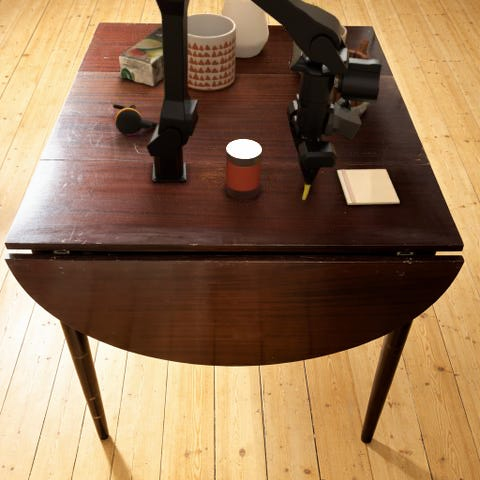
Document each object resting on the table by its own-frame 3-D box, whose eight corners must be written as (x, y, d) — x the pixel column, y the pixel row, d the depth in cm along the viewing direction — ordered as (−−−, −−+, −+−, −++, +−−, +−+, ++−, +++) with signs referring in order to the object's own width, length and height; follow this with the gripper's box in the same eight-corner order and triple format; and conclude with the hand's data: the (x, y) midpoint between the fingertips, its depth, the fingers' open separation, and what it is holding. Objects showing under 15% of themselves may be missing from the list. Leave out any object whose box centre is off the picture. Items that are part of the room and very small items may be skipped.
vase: (171, 87, 145) (167, 32, 135) (188, 62, 154) (186, 9, 145) (226, 95, 143) (227, 40, 133) (240, 70, 152) (242, 16, 143)
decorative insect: (308, 202, 123) (307, 200, 113) (292, 199, 123) (290, 196, 114) (324, 138, 121) (325, 130, 111) (308, 134, 121) (308, 126, 111)
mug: (304, 112, 138) (317, 42, 129) (329, 97, 148) (343, 32, 139) (351, 127, 134) (368, 56, 125) (374, 111, 144) (391, 44, 135)
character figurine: (109, 124, 136) (114, 135, 126) (113, 98, 134) (118, 107, 124) (154, 133, 140) (163, 144, 129) (159, 108, 137) (168, 117, 127)
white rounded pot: (226, 35, 166) (227, -20, 155) (274, 43, 163) (277, -13, 153) (209, 56, 157) (209, -2, 147) (259, 64, 154) (262, 6, 144)
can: (260, 199, 116) (263, 158, 109) (226, 200, 115) (227, 159, 108) (257, 179, 120) (260, 138, 113) (224, 180, 119) (225, 139, 113)
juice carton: (152, 89, 144) (150, 63, 139) (117, 80, 146) (114, 54, 142) (193, 57, 156) (192, 32, 152) (159, 49, 159) (157, 25, 155)
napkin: (399, 203, 116) (399, 201, 116) (347, 204, 115) (348, 202, 115) (385, 170, 123) (386, 168, 123) (336, 171, 123) (337, 169, 122)
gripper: (373, 123, 99) (357, 201, 110) (350, 70, 111) (338, 145, 123) (305, 123, 98) (296, 203, 109) (290, 70, 111) (283, 146, 122)
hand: (305, 173), depth 116 cm, fingers open, 7 cm apart
